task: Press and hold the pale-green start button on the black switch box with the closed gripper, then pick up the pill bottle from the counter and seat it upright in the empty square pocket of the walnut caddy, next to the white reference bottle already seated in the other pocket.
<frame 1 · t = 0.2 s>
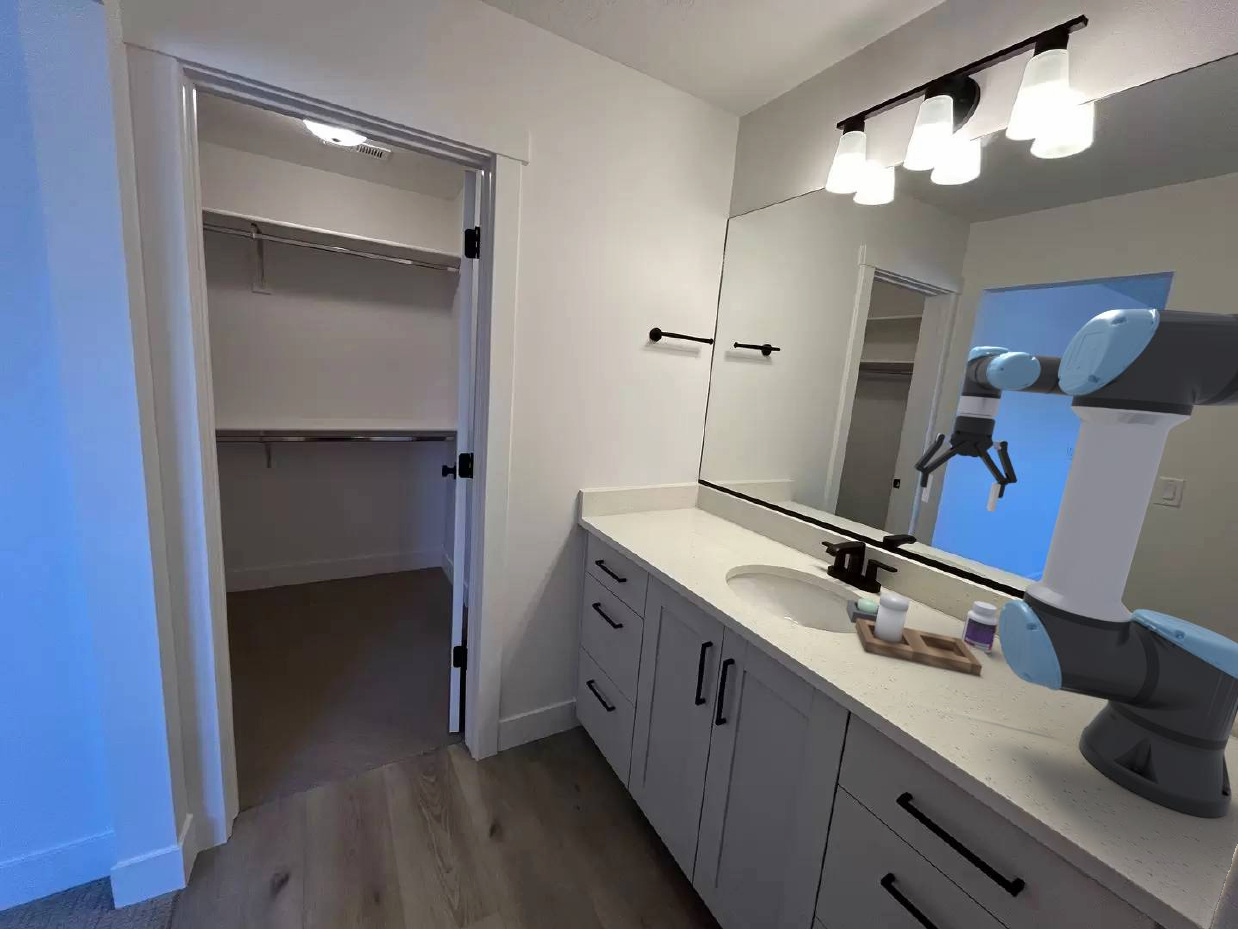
hand: (956, 506, 119), 28 cm above the worktop, fingers open, 13 cm apart
walnut caddy: (911, 653, 103), on the worktop
start button: (867, 609, 114), point 3 cm above the worktop, slide at 0.0 cm
switch box: (864, 623, 115), on the worktop
pill bottle: (975, 648, 108), on the worktop
reference bottle: (885, 643, 104), point 1 cm above the worktop, touching walnut caddy
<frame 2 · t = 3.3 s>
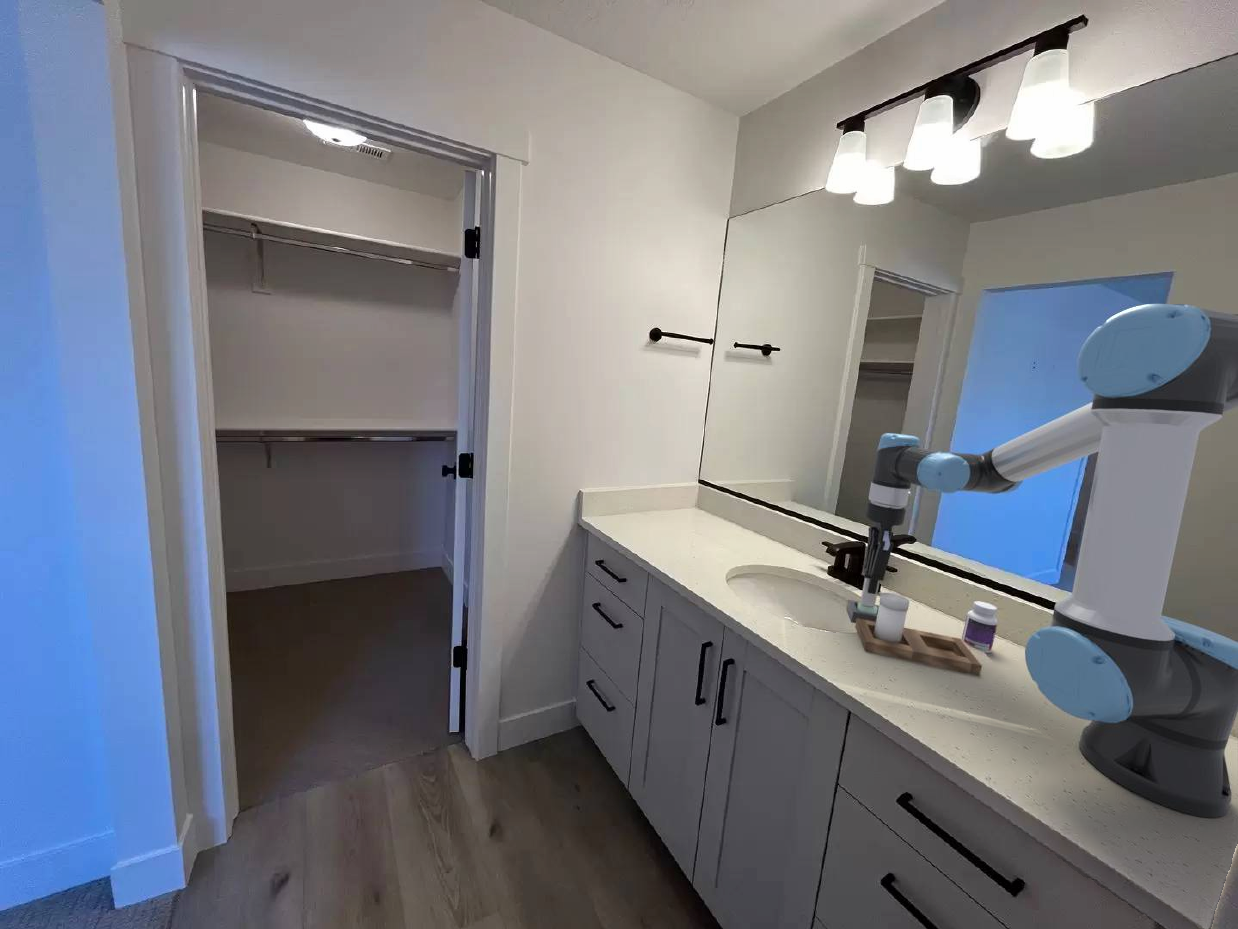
hand: (867, 604, 114), 4 cm above the worktop, fingers closed
start button: (866, 612, 115), point 3 cm above the worktop, slide at 0.8 cm, touching gripper
everything else where it was.
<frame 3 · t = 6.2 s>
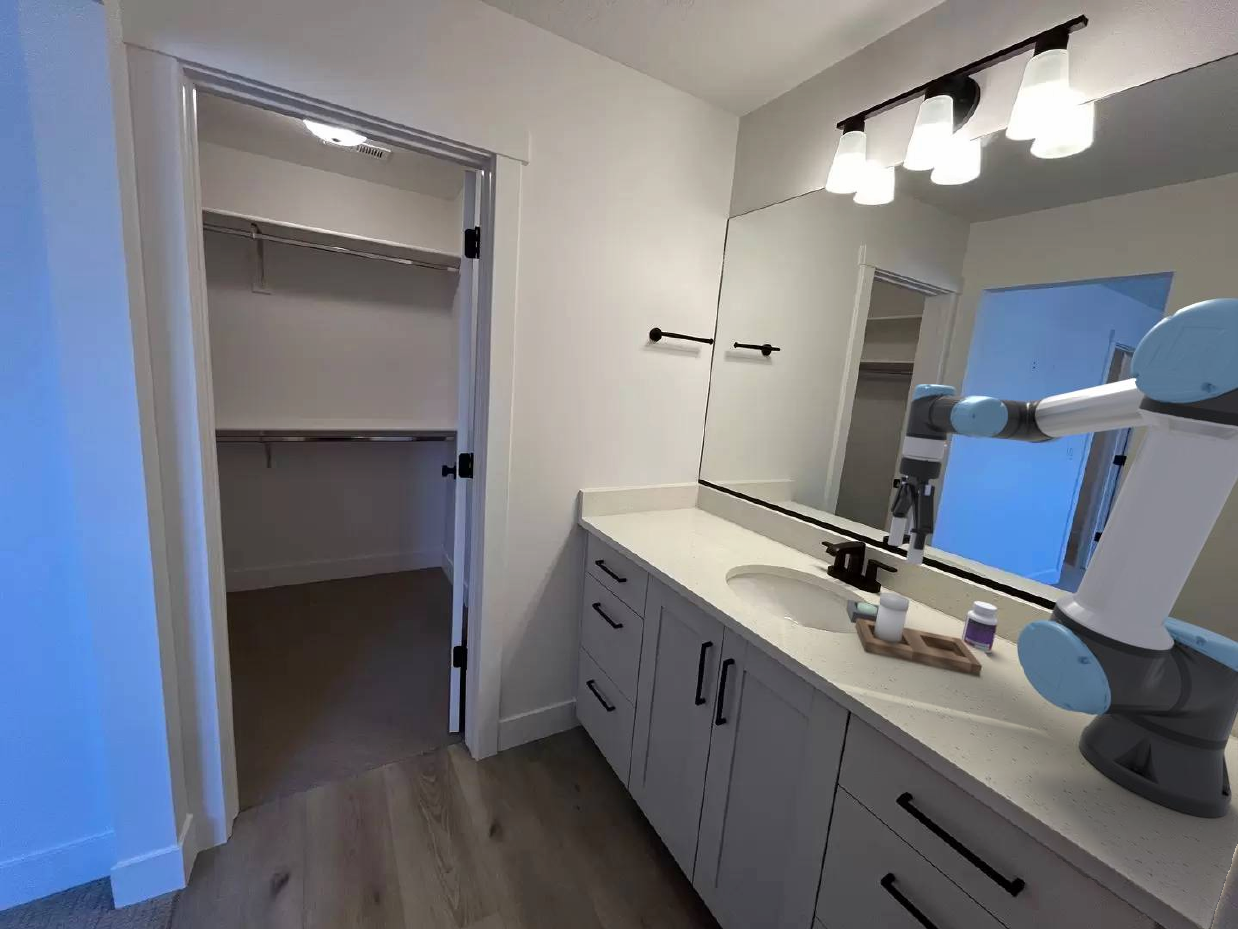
hand: (903, 554, 110), 18 cm above the worktop, fingers open, 13 cm apart
start button: (866, 613, 115), point 2 cm above the worktop, slide at 1.0 cm
everything else where it was.
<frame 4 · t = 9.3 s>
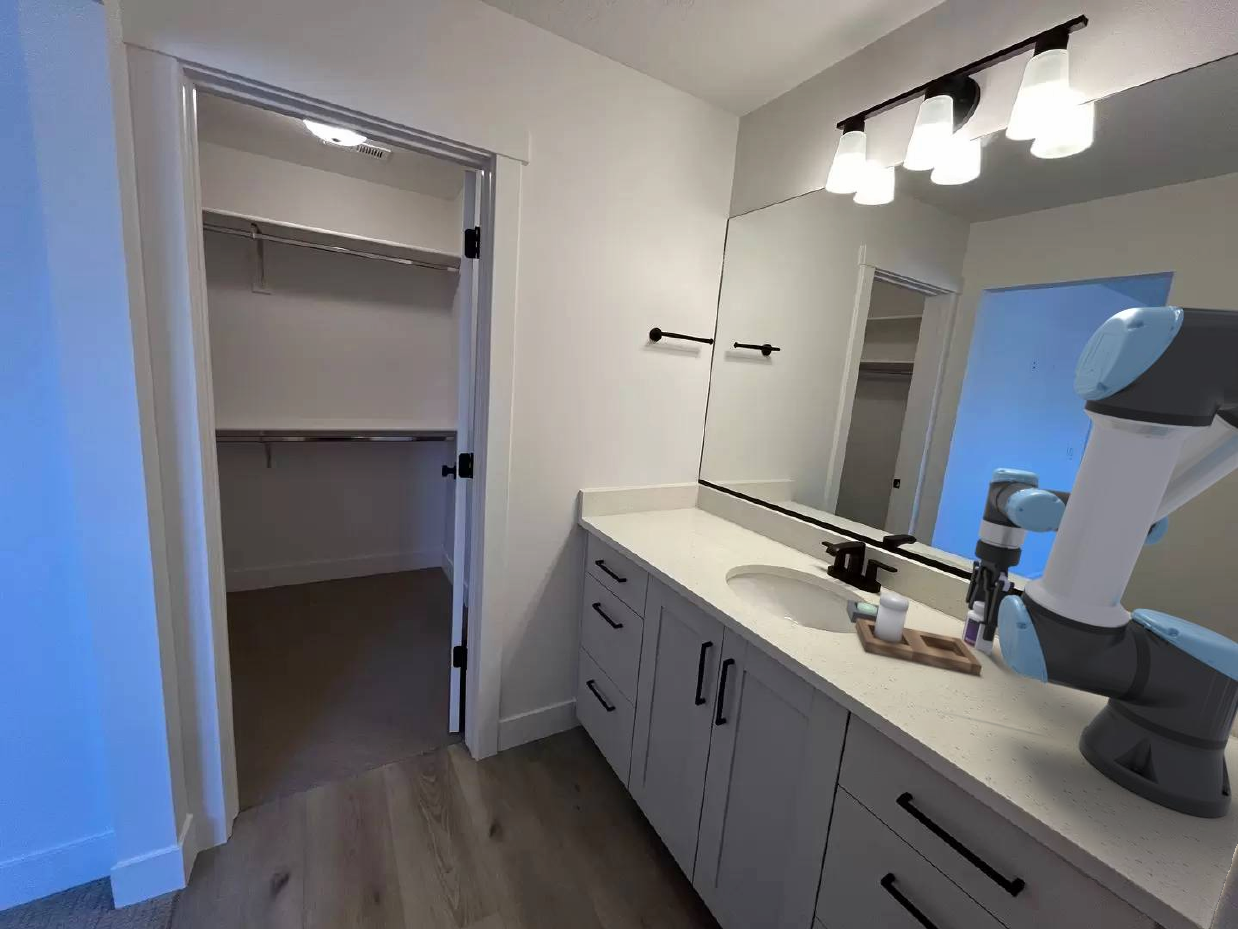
hand: (975, 645, 108), 0 cm above the worktop, fingers closed on pill bottle, 5 cm apart
pill bottle: (975, 648, 108), on the worktop, touching gripper
everything else where it was.
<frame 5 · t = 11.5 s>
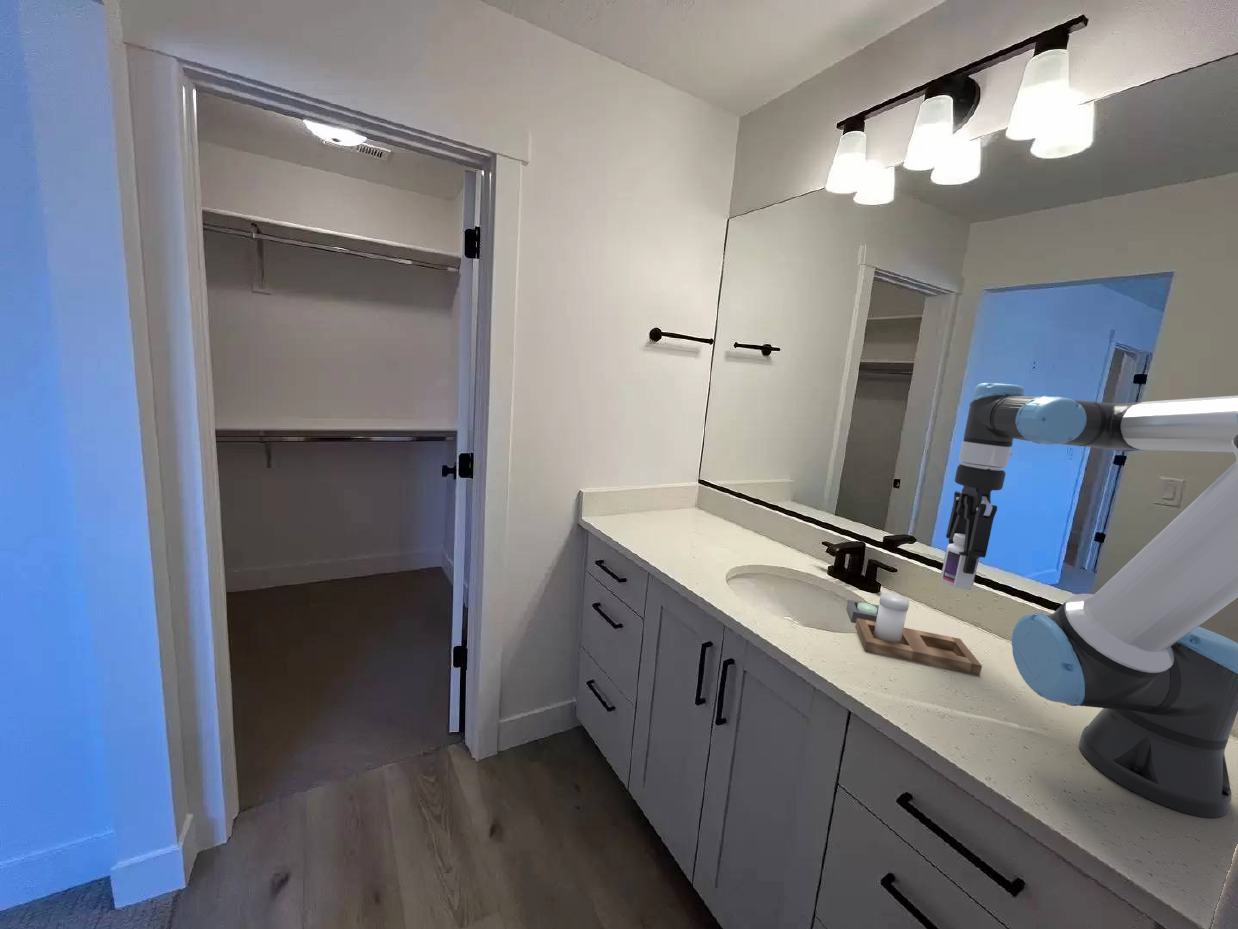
hand: (956, 582, 99), 17 cm above the worktop, fingers closed on pill bottle, 5 cm apart
pill bottle: (955, 584, 99), point 16 cm above the worktop, touching gripper
everything else where it was.
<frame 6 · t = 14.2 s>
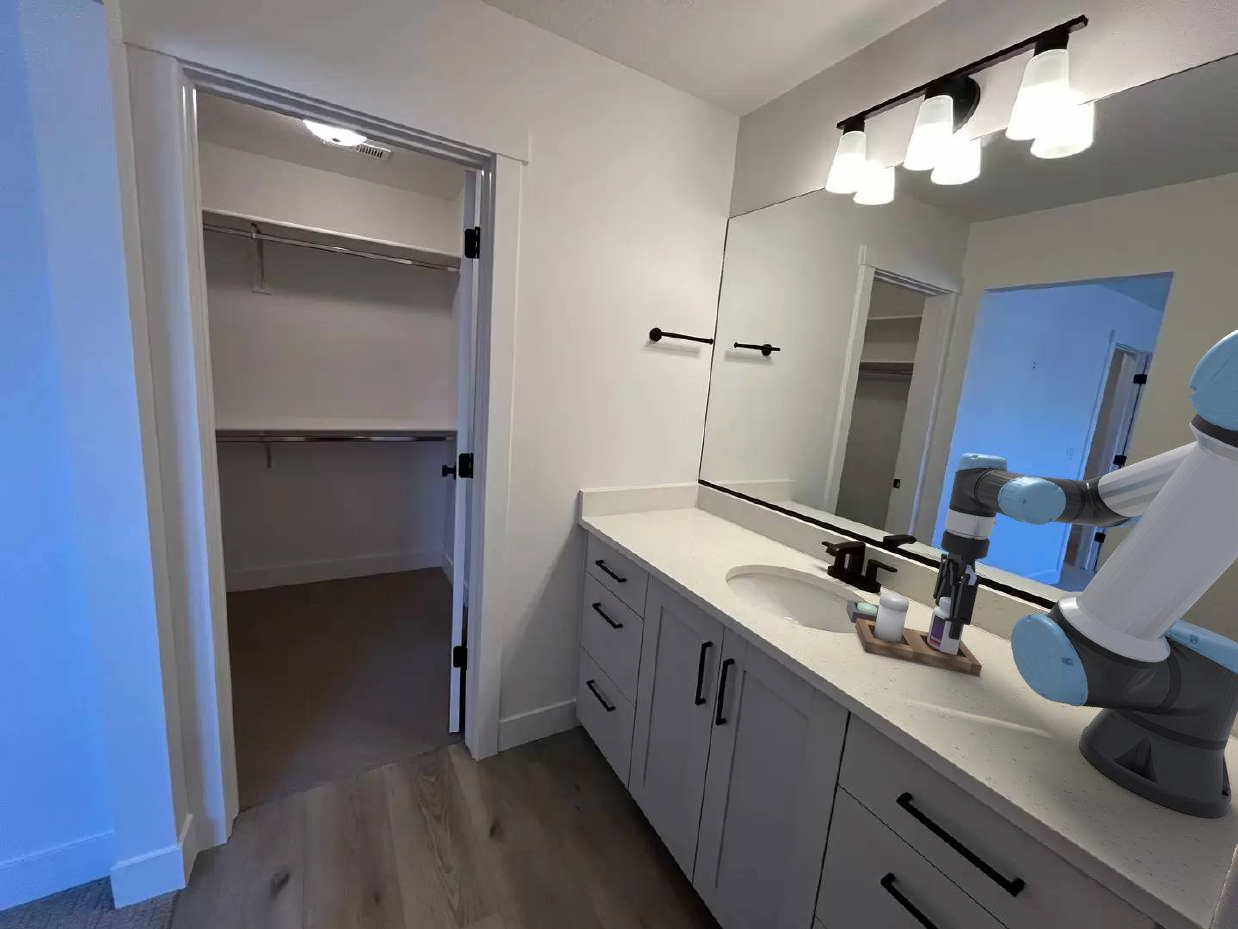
hand: (942, 644, 101), 3 cm above the worktop, fingers closed on pill bottle, 5 cm apart
pill bottle: (941, 647, 101), point 3 cm above the worktop, touching gripper
everything else where it was.
when the fingers open (3 cm above the worktop, at t = 14.2 s): pill bottle drops 2 cm, resting on walnut caddy.
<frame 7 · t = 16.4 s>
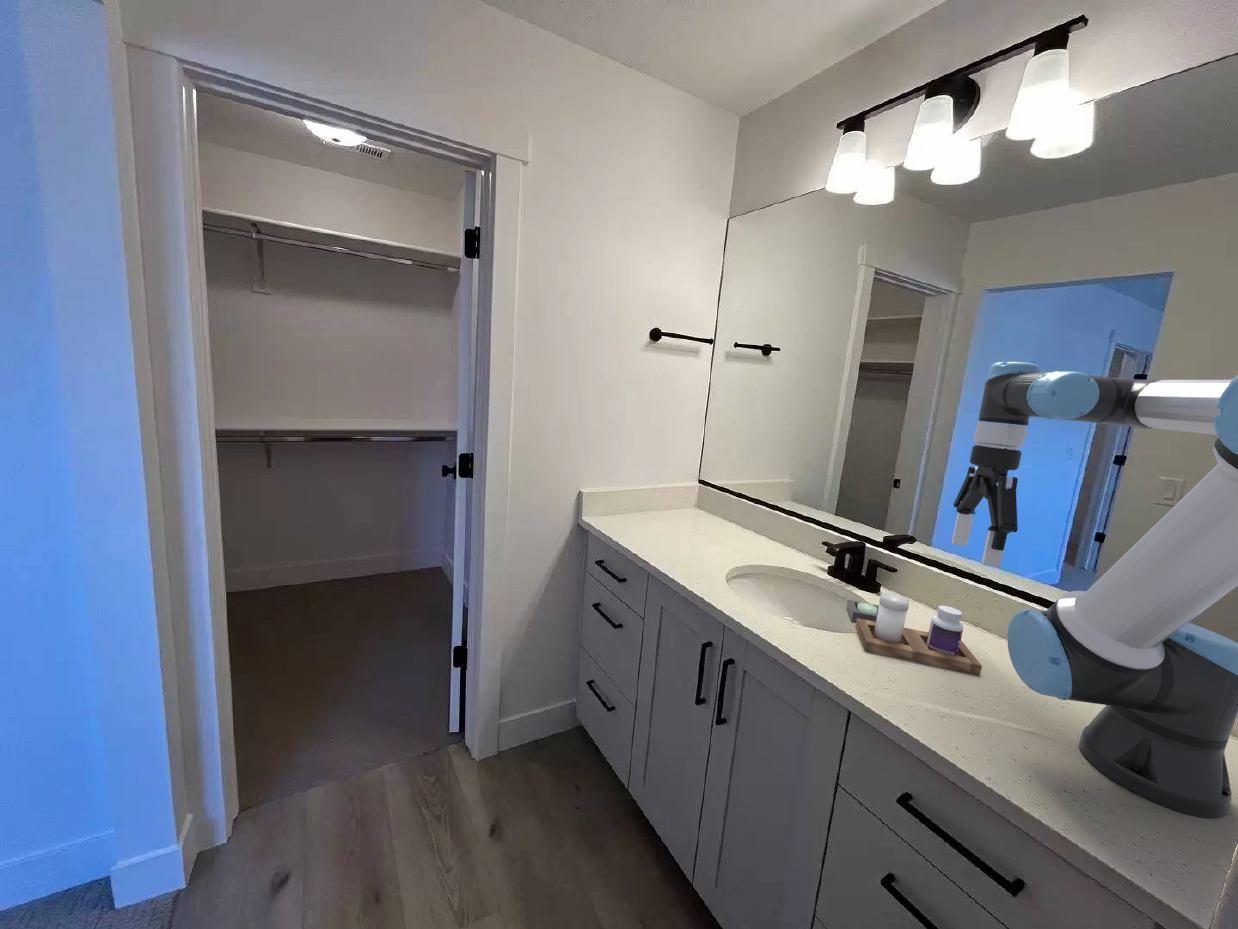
hand: (973, 554, 98), 22 cm above the worktop, fingers open, 13 cm apart
pill bottle: (940, 656, 101), point 1 cm above the worktop, touching walnut caddy
everything else where it was.
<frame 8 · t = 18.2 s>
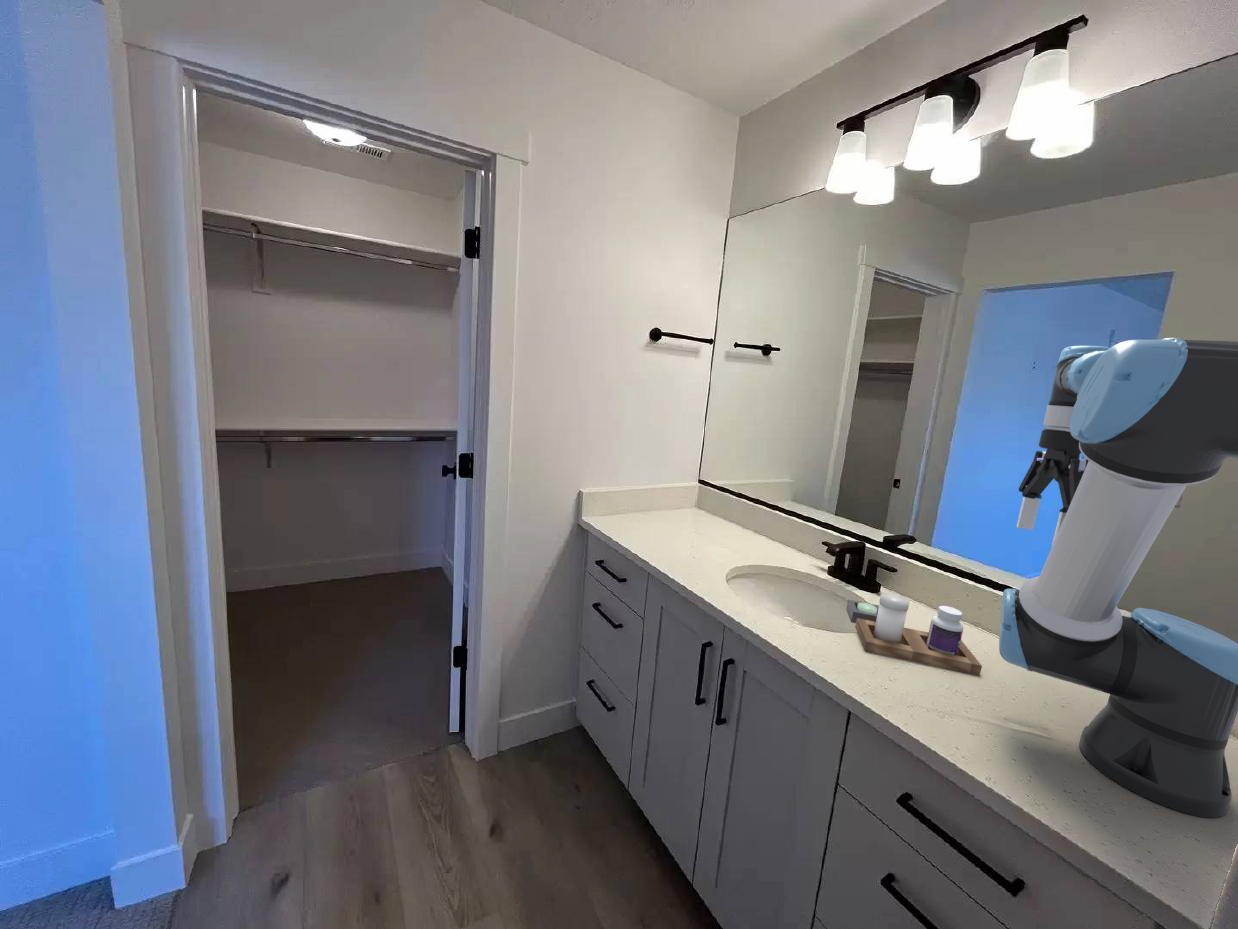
hand: (1041, 537, 99), 27 cm above the worktop, fingers open, 13 cm apart
nothing on the worktop moved.
at the end: pill bottle 0.2 cm from the target spot, point 0.8 cm above the worktop; pill bottle tilted 0°; start button slide at 1.0 cm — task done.
